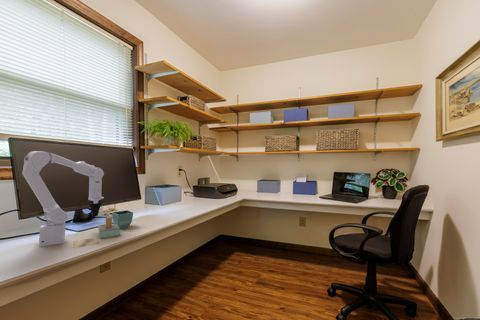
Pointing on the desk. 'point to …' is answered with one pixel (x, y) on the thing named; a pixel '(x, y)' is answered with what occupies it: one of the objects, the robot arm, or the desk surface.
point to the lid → (108, 225)
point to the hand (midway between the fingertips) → (94, 214)
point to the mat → (85, 242)
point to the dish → (109, 233)
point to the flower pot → (122, 218)
